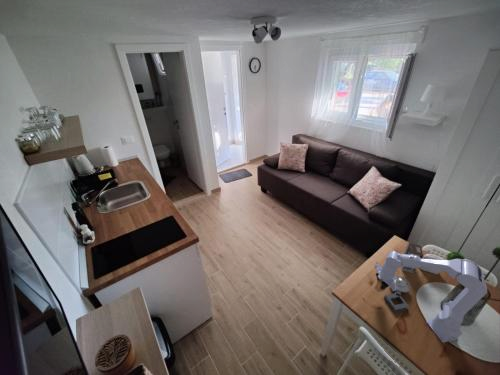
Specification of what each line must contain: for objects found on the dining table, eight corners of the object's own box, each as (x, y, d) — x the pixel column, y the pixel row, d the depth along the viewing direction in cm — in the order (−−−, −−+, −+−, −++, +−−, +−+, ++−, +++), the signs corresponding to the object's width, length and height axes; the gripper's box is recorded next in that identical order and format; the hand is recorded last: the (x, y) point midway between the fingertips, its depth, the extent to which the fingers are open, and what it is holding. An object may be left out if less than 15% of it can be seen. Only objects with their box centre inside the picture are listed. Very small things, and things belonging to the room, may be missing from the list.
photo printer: (437, 270, 132) (446, 257, 125) (438, 275, 128) (447, 262, 122) (417, 263, 136) (425, 250, 129) (418, 269, 133) (425, 256, 126)
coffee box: (413, 273, 130) (423, 256, 122) (401, 270, 133) (410, 253, 124) (411, 262, 137) (421, 245, 128) (399, 259, 140) (408, 242, 131)
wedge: (384, 290, 116) (388, 282, 113) (377, 291, 116) (381, 284, 112) (381, 286, 118) (385, 278, 115) (374, 287, 118) (378, 280, 114)
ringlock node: (423, 306, 114) (428, 299, 110) (394, 312, 113) (398, 305, 109) (399, 278, 128) (403, 271, 125) (373, 283, 127) (376, 276, 123)
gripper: (372, 260, 114) (366, 275, 121) (391, 284, 102) (383, 300, 109) (384, 258, 115) (377, 273, 122) (404, 282, 103) (395, 297, 110)
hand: (381, 286), depth 116 cm, fingers closed on wedge, 2 cm apart
